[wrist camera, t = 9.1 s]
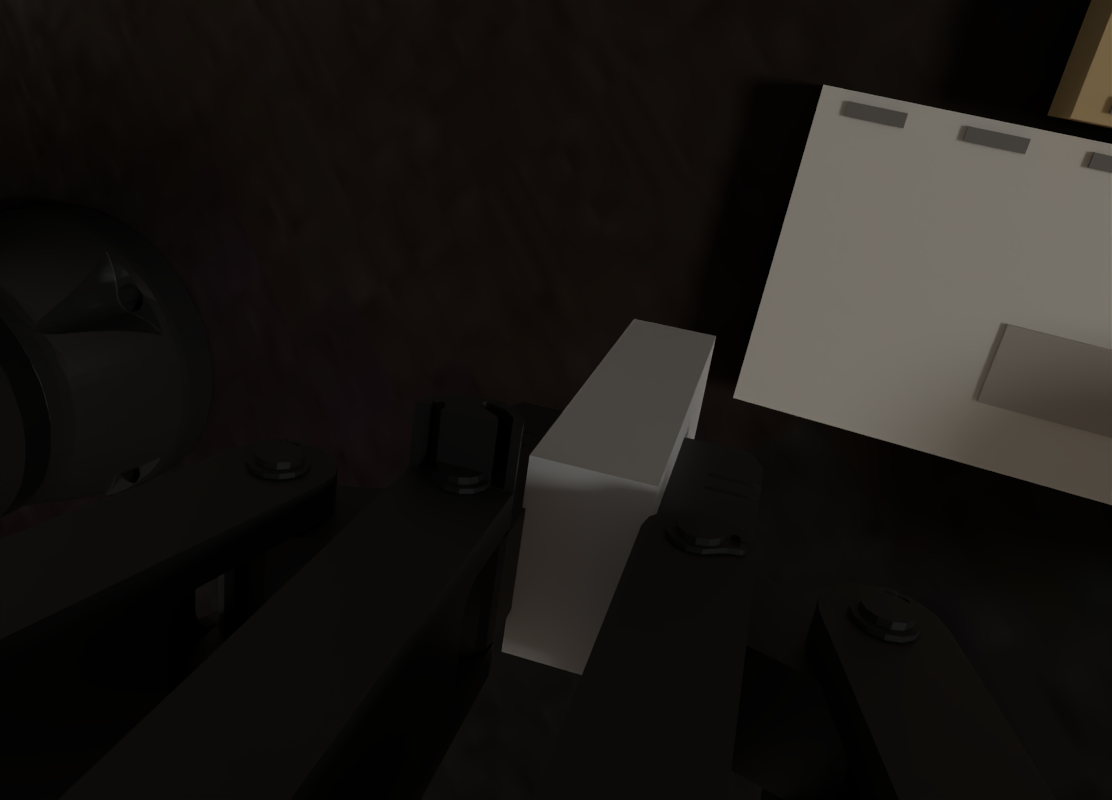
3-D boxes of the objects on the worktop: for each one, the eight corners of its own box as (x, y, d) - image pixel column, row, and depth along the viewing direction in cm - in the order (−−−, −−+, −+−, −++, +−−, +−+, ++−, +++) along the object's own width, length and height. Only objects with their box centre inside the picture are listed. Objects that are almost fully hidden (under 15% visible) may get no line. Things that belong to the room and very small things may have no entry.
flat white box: (739, 379, 38) (732, 399, 35) (824, 85, 33) (823, 84, 31) (1144, 492, 35) (1167, 522, 32) (1298, 182, 30) (1339, 191, 28)
